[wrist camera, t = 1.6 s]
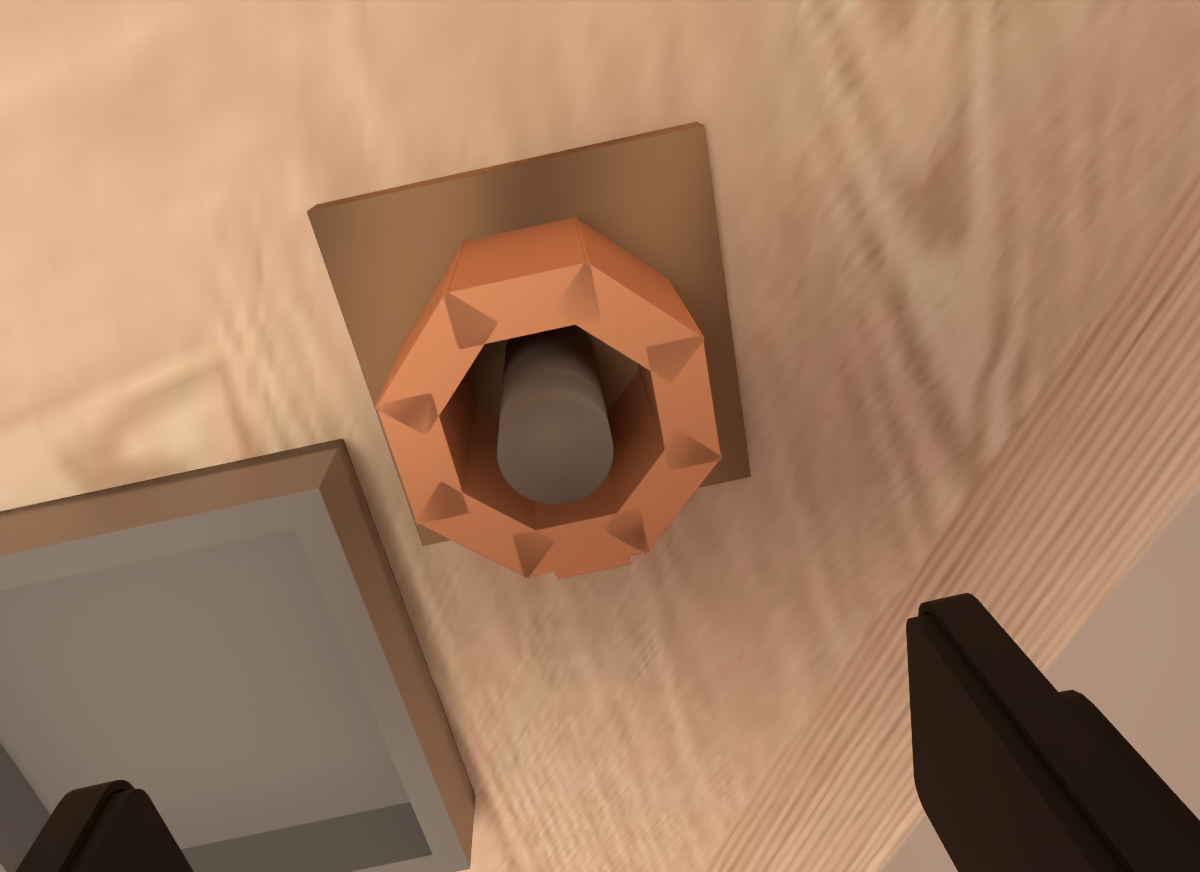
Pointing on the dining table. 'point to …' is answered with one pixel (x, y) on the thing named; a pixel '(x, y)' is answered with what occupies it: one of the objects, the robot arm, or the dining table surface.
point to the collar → (470, 434)
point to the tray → (227, 672)
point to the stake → (559, 356)
